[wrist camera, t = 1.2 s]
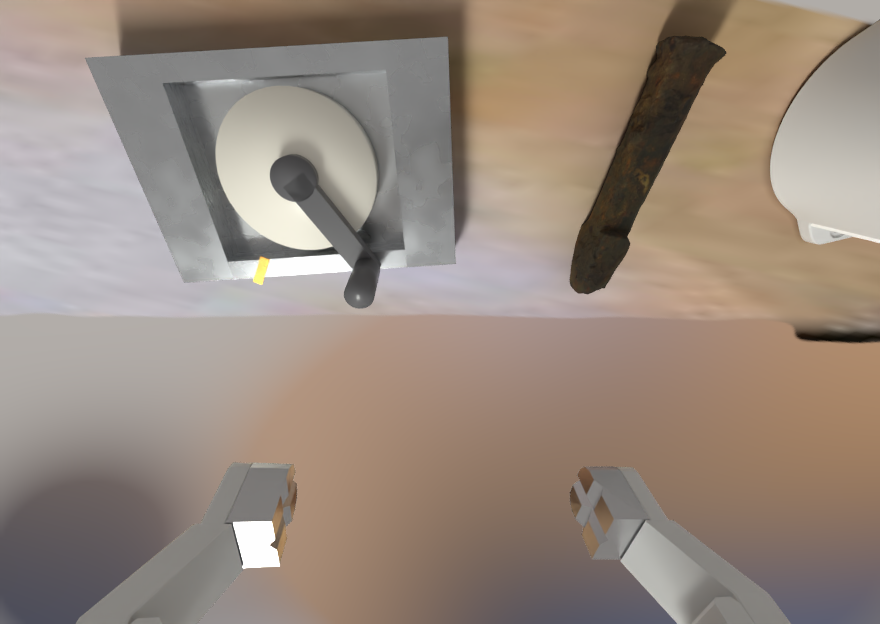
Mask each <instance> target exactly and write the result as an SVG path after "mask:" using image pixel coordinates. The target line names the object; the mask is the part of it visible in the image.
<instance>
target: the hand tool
mask: <svg viewBox="0 0 880 624" xmlns="http://www.w3.org/2000/svg"><path fill="white" fill-rule="evenodd" d="M656 52H657V56H658V57H657V60H656V61H655V62H654V64H653V65H652V66H651V67H650V68H649V70H648V71H647V76H648V81H647V83H646V86H645V88H644V91H643V93H642V96H641V98H640V100H639V102H638V104H637V106H636V107H635V110H634V113H633V115H632V117H631V122H630V125H629V127H628V129H627V132H626V134H625V136H624V139H623V141H622V143H621V145H620V146H619V147H618V148H617V150H616V156H615V159H614V161H613V164H612V166H611V168H610V170H609V173H608V176H607V178H606V181H605V183H604V185H603V188H602V190H601V192H600V195H599V197H598V199H597V201H596V204H595V206H594V208H593V211H592V213H591V215H590V218H589V219H588V220H587V222H585V223H584V224H583V225H582V226H581V229H580V231H579V234H578V238H577V241H576V245H575V250H574V254H573V260H572V265H571V275H570V285H571V287H572V288H573V289H574V290H575V291H576V292H577V293H584V294H589V293H592V292H594V291H596V290H599V289H601V288H605V287H606V285H607V283H608V282H609V280H610V279H611V277H612V275H613V273H614V271H615V270H616V268H617V267H618V265H619V264H620V263H621V261H622V260H623V258H624V257H625V255H626V253H627V251H628V249H629V246H630V242H629V239H628V237H627V236H628V234H629V232H630V230H631V228H632V225H633V223H634V220H635V218H636V216H637V214H638V211H639V209H640V207H641V205H642V204H643V203H644V201H645V199H646V197H647V195H648V193H649V191H650V189H651V187H652V185H653V183H654V181H655V179H656V177H657V175H658V173H659V172H660V170H661V167H662V165H663V163H664V161H665V159H666V157H667V156H668V154H669V152H670V149H671V147H672V145H673V143H674V141H675V139H676V137H677V135H678V133H679V131H680V129H681V127H682V125H683V123H684V121H685V119H686V117H687V115H688V113H689V110H690V108H691V106H692V104H693V102H694V100H695V98H696V96H697V95H698V92H699V90H700V88H701V86H702V85H703V83H704V81H705V78H706V76H707V75H708V73H709V72H710V70H711V69H712V67H713V66H714V64H715V63H717V62H718V61H719V60H720V59H721V58H722V57H724V56H725V54H726V51H725V50H724V49H723V48H722V47H720V46H718V45H716V44H714V43H712V42H710V41H708V40H707V39H706V38H704V37H690V36H682V37H681V36H672V37H668V38H666V39H665V40H663V41H660V42H659V43H658V44H657V46H656Z"/></svg>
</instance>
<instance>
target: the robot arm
mask: <svg viewBox="0 0 880 624" xmlns="http://www.w3.org/2000/svg"><path fill="white" fill-rule="evenodd" d="M770 176H771V183H772V187H773V190H774V193H775V195H776V197H777V198H778V200H779V201H780V203H781V204H782V205H783V206H784V207H785V208H786V209H788V210H789V211H790V212H791V213H792V214H793V215H794V216H795V217H796V219H797V221H798V227H799V231H800V234H801V237H802V239H803V240H804V241H806V242H810V243H814V244H825V243H829V242H833V241H837V240H841V239H846V238H850V237H857V238H861V239H865V240H870V241H874V242H878V243H880V20H878V21H877V22H876V23H874V24H873V25H871V26H870V27H868V28H867V29H865V30H864V31H862V32H861V33H859V34H858V35H856V36H855V37H854V38H852V39H851V40H849V41H848V42H847V43H845V44H844V45H843V46H842V47H840V48H839V49H838V50H837V51H836V52H835V53H833V54H832V55H831V56H830V57H829V58H828V59H827V60H826V61H825V62H824V63H823V64H822V65H821V66H820V67H819V68H818V69H817V70H816V71H815V72H814V74H813V75H812V76H811V77H810V78H809V80H808V81H807V82H806V83H805V85H804V86H803V87H802V89H801V90H800V91H799V93H798V94H797V96H796V97H795V99H794V100H793V102H792V104H791V105H790V107H789V109H788V111H787V113H786V114H785V116H784V118H783V121H782V123H781V125H780V127H779V130H778V132H777V135H776V138H775V141H774V145H773V149H772V154H771V161H770ZM294 475H295V468H294V464H274V463H244V462H243V463H242V462H234V463H232V464H231V466H230V467H229V468H228V470H227V471H226V474H225V475H224V477H223V480H222V481H221V484H220V486H219V487H218V489H217V491H216V493H215V495H214V498H213V500H212V502H211V503H210V505H209V507H208V509H207V511H206V514H205V515H204V517H203V519H202V522H201V523H200V524H193V525H192V526H191V527H190V528H188V529H187V530H186V531H185V532H183V533H182V534H181V535H180V536H179V537H177V538H176V539H175V540H174V541H173V542H171V543H170V544H169V545H168V546H166V547H165V548H164V549H163V550H161V551H160V552H159V553H158V554H157V555H155V556H154V557H153V558H152V559H151V560H149V561H148V562H147V563H146V564H144V565H143V566H142V567H141V568H140V569H138V570H137V571H136V572H135V573H133V574H132V575H131V576H130V577H129V578H127V579H126V580H125V581H124V582H122V583H121V584H120V585H119V586H118V587H116V588H115V589H114V590H113V591H112V592H110V593H109V594H108V595H107V596H105V597H104V598H103V599H102V600H101V601H99V602H98V603H97V604H96V605H94V606H93V607H92V608H91V609H90V610H88V611H87V612H86V613H85V614H83V615H82V616H81V617H80V618H79V619H78V621H77V622H76V624H197V623H198V622H199V621H200V620H201V619H202V617H203V616H204V615H205V614H206V613H207V612H208V610H209V609H210V608H211V607H212V606H213V605H214V603H215V602H216V601H217V600H218V599H219V598H220V596H221V595H222V594H223V593H224V592H225V591H226V589H227V588H228V587H229V586H230V585H231V584H232V582H233V581H234V580H235V579H236V578H237V576H238V575H239V574H240V573H241V572H242V571H243V568H246V567H266V566H279V565H280V561H281V558H282V554H283V550H284V547H285V544H286V540H287V534H286V526H287V525H288V524H289V523H290V522H291V521H292V519H293V515H294V511H295V505H296V499H297V484H296V483H295V482H294V481H293V479H294ZM578 478H579V481H578V482H576V483H575V484H573V486H572V488H571V491H570V505H571V509H572V512H573V515H574V517H575V519H576V520H577V521H578V522H579V523H580V524H581V525H582V526H583V531H582V537H583V539H584V542H585V544H586V546H587V549H588V551H589V553H590V556H591V558H592V559H621V562H622V563H623V565H624V566H625V567H626V568H627V569H628V570H629V571H630V572H631V573H632V574H633V575H634V577H635V578H636V579H637V580H638V581H639V582H640V583H641V584H642V585H643V586H644V587H645V589H646V590H647V591H648V592H649V593H650V594H651V595H652V596H653V597H654V598H655V599H656V601H657V602H658V603H659V604H660V605H661V606H662V607H663V608H664V609H665V610H666V612H667V613H668V614H669V615H670V616H671V617H672V618H673V619H674V620H675V621H676V623H678V624H791V623H790V622H789V620H788V619H787V618H786V616H785V615H784V614H783V613H782V611H781V610H780V608H779V607H778V606H777V604H776V603H775V602H774V600H773V599H772V598H771V596H770V595H769V594H768V593H767V592H766V591H764V590H763V589H762V588H760V587H759V586H758V585H757V584H755V583H754V582H753V581H751V580H750V579H749V578H747V577H746V576H745V575H744V574H742V573H741V572H740V571H738V570H737V569H736V568H734V567H733V566H732V565H731V564H729V563H728V562H726V561H725V560H724V559H723V558H722V557H720V556H719V555H718V554H716V553H715V552H714V551H712V550H711V549H710V548H709V547H707V546H706V545H704V544H703V543H702V542H701V541H699V540H698V539H697V538H695V537H694V536H693V535H692V534H690V533H689V532H688V531H686V530H685V529H684V528H682V527H681V526H680V525H679V524H677V523H676V522H675V521H673V520H668V519H667V517H666V516H665V514H664V513H663V511H662V509H661V508H660V506H659V505H658V503H657V502H656V500H655V499H654V497H653V496H652V494H651V492H650V491H649V489H648V488H647V486H646V485H645V483H644V481H643V480H642V478H641V477H640V475H639V474H638V472H637V471H636V470H635V469H634V468H632V467H582V468H581V469H580V470H579V472H578Z"/></svg>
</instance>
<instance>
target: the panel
mask: <svg viewBox="0 0 880 624" xmlns="http://www.w3.org/2000/svg"><path fill="white" fill-rule="evenodd" d="M85 59H86V62H87V64H88V66H89V68H90V71H91V73H92V75H93V78H94V80H95V82H96V84H97V87H98V89H99V91H100V93H101V96H102V98H103V100H104V102H105V105H106V107H107V109H108V111H109V114H110V116H111V118H112V121H113V123H114V125H115V127H116V130H117V132H118V134H119V136H120V139H121V141H122V143H123V145H124V148H125V150H126V152H127V155H128V157H129V159H130V161H131V164H132V166H133V168H134V170H135V173H136V175H137V177H138V179H139V182H140V184H141V186H142V189H143V191H144V193H145V195H146V198H147V200H148V202H149V204H150V207H151V209H152V211H153V213H154V216H155V218H156V220H157V223H158V225H159V227H160V229H161V232H162V234H163V236H164V238H165V241H166V243H167V245H168V247H169V250H170V252H171V254H172V257H173V259H174V261H175V263H176V266H177V268H178V270H179V272H180V275H181V277H182V279H183V281H184V283H188V282H202V281H217V280H231V279H245V278H254V280H253V282H256V283H258V284H261V285H262V284H263V281H264V277H274V276H288V275H303V274H317V273H332V272H346V271H352V270H353V269H352V268H351V267H350V266H349V265H348V263H347V262H346V261H345V260H344V259H343V257H342V256H341V255H340V254H339V253H338V252H337V250H336V249H335V248H334V247H333V246H332V247H329V248H325V249H318V250H302V249H295V248H291V247H287V246H284V245H281V244H278V243H276V242H274V241H272V240H270V239H268V238H266V237H265V236H263V235H261V234H260V233H258V232H257V231H256V230H255V229H253V228H252V227H251V226H250V225H249V224H248V223H247V222H245V221H244V220H243V219H242V217H241V216H240V215H239V214H238V213H237V212H236V210H235V209H234V207H233V206H232V204H231V203H230V201H229V200H228V198H227V196H226V194H225V192H224V190H223V187H222V185H221V182H220V179H219V175H218V172H217V165H216V141H217V136H218V132H219V129H220V126H221V124H222V122H223V119H224V117H225V116H226V114H227V113H228V112H229V110H230V109H231V108H232V107H233V106H234V105H235V103H236V102H237V101H239V100H240V99H241V98H243V97H244V96H246V95H247V94H249V93H251V92H253V91H255V90H258V89H262V88H265V87H271V86H293V87H300V88H306V89H310V90H314V91H317V92H320V93H322V94H324V95H326V96H328V97H330V98H332V99H333V100H335V101H336V102H338V103H339V104H341V105H342V106H343V107H344V108H346V109H347V110H348V111H349V112H350V113H351V114H352V115H353V116H354V117H355V118H356V120H357V121H358V122H359V123H360V125H361V126H362V127H363V129H364V131H365V132H366V134H367V136H368V137H369V140H370V142H371V144H372V146H373V149H374V152H375V155H376V159H377V164H378V174H379V181H378V190H377V196H376V199H375V202H374V205H373V207H372V209H371V211H370V213H369V215H368V217H367V219H366V221H365V222H364V224H363V225H362V227H361V228H360V229H359V230H358V231H357V234H358V235H359V236H360V237H361V239H362V240H363V241H364V242H365V244H366V245H367V246H368V247H369V249H370V250H371V251H372V252H373V254H374V255H375V256H376V257H377V259H378V260H379V261H380V262H381V268H380V269H389V268H403V267H418V266H432V265H447V264H456V259H455V230H454V201H453V172H452V142H451V113H450V84H449V55H448V37H435V38H417V39H400V40H383V41H366V42H349V43H332V44H315V45H297V46H280V47H263V48H246V49H229V50H212V51H194V52H177V53H160V54H143V55H126V56H109V57H92V58H85Z"/></svg>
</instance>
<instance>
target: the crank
mask: <svg viewBox="0 0 880 624" xmlns="http://www.w3.org/2000/svg"><path fill="white" fill-rule="evenodd" d="M216 165H217V172H218V175H219V179H220V182H221V185H222V187H223V190H224V192H225V194H226V196H227V198H228V200H229V201H230V203H231V204H232V206H233V207H234V209H235V210H236V212H237V213H238V214H239V215H240V216H241V217H242V219H243V220H244V221H245V222H247V223H248V224H249V225H250V226H251V227H252V228H253V229H255V230H256V231H257V232H258V233H260V234H261V235H263V236H265V237H266V238H268V239H270V240H272V241H274V242H276V243H278V244H281V245H284V246H287V247H291V248H295V249H302V250H318V249H325V248H329V247H332V246H333V247H334V248H335V249H336V250H337V252H338V253H339V254H340V255H341V256H342V257H343V259H344V260H345V261H346V262H347V263H348V265H349V266H350V267H351V268H352V269H353V270H352V273H351V275H350V278H349V280H348V283H347V286H346V288H345V291H344V298H345V300H346V302H347V303H348V304H349V305H351V306H352V307H355V308H366V307H368V306H369V305H371V304H372V302H373V300H374V296H375V292H376V287H377V283H378V278H379V274H380V268H381V262H380V261H379V260H378V259H377V257H376V256H375V255H374V254H373V252H372V251H371V250H370V249H369V247H368V246H367V245H366V244H365V242H364V241H363V240H362V239H361V237H360V236H359V235H358V234H357V231H358V230H359V229H360V228H361V227H362V225H363V224H364V222H365V221H366V219H367V217H368V215H369V213H370V211H371V209H372V207H373V205H374V202H375V199H376V196H377V190H378V181H379V174H378V164H377V159H376V155H375V152H374V149H373V146H372V144H371V142H370V140H369V137H368V136H367V134H366V132H365V131H364V129H363V127H362V126H361V125H360V123H359V122H358V121H357V120H356V118H355V117H354V116H353V115H352V114H351V113H350V112H349V111H348V110H347V109H346V108H344V107H343V106H342V105H341V104H339V103H338V102H336V101H335V100H333V99H332V98H330V97H328V96H326V95H324V94H322V93H320V92H317V91H314V90H310V89H306V88H300V87H293V86H271V87H265V88H262V89H258V90H255V91H253V92H251V93H249V94H247V95H246V96H244V97H243V98H241V99H240V100H239V101H237V102H236V103H235V105H234V106H233V107H232V108H231V109H230V110H229V112H228V113H227V114H226V116H225V117H224V119H223V122H222V124H221V126H220V129H219V132H218V136H217V141H216Z"/></svg>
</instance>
